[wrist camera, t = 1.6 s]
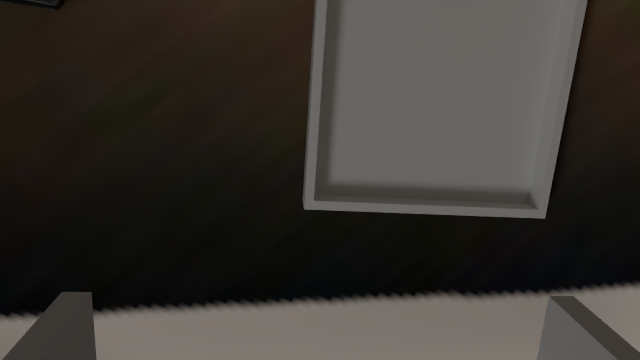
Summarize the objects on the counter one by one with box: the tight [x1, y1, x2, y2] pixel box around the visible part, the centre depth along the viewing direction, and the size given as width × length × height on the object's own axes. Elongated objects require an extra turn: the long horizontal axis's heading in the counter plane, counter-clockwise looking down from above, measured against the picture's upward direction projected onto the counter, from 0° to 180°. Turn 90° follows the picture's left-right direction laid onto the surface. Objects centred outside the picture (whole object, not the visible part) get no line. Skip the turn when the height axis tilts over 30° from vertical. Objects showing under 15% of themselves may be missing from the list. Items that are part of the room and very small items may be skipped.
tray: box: [303, 0, 587, 218], centre depth 42 cm, size 22×25×2 cm
